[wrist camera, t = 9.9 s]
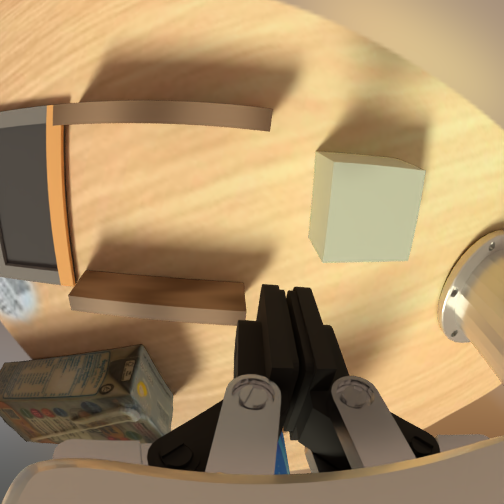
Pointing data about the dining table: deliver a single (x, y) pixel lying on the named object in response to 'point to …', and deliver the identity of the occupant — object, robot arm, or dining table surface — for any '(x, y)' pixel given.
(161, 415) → the beverage carton
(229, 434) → the robot arm
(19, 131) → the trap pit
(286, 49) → the dining table surface
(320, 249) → the block
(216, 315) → the brown parallel walls
